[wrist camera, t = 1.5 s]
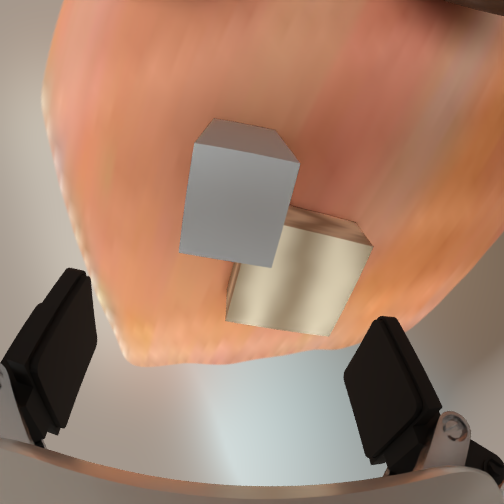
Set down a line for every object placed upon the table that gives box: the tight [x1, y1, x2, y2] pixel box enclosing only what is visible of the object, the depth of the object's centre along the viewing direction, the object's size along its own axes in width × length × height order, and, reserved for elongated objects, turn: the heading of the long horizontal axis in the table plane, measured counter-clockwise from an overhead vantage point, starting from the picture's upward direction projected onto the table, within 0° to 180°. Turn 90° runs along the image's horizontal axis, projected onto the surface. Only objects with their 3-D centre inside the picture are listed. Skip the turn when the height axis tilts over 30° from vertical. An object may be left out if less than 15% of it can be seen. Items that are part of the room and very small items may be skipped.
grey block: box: [179, 118, 300, 268], centre depth 25 cm, size 6×7×14 cm
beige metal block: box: [225, 205, 373, 336], centre depth 35 cm, size 12×12×6 cm
